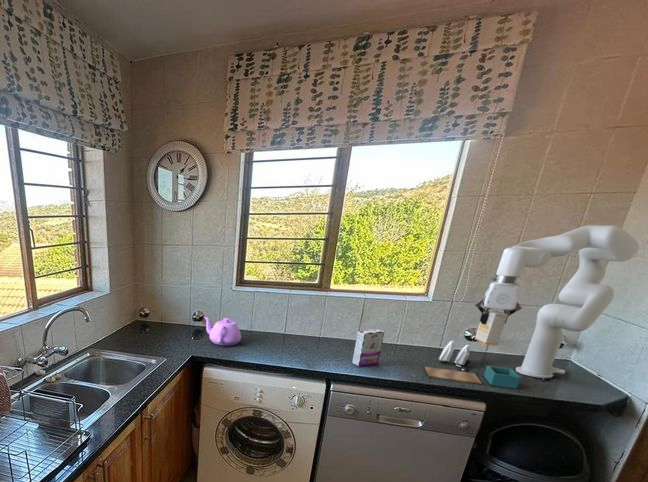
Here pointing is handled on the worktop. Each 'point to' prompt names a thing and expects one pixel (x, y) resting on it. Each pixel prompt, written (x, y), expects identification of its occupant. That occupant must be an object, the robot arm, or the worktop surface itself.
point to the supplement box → (491, 327)
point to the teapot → (224, 332)
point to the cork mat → (453, 375)
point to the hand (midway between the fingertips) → (491, 323)
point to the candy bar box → (368, 347)
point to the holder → (502, 377)
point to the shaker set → (448, 353)
